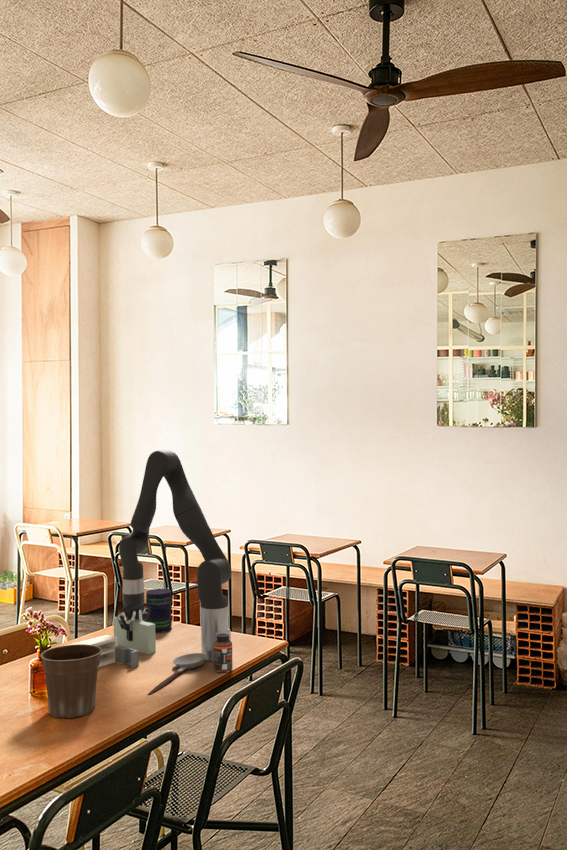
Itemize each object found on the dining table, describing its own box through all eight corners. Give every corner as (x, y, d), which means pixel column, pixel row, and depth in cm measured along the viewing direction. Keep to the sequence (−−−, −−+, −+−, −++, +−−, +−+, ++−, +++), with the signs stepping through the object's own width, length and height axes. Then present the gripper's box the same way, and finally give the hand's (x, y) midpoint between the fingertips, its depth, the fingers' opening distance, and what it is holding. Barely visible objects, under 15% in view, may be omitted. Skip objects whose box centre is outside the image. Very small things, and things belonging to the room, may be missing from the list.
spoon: (213, 661, 241) (211, 652, 241) (165, 700, 210) (164, 690, 210) (183, 662, 245) (182, 653, 245) (132, 700, 213) (131, 690, 213)
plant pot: (80, 696, 212) (79, 640, 212) (114, 708, 202) (114, 649, 202) (29, 713, 199) (28, 653, 200) (63, 727, 189) (62, 664, 189)
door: (123, 642, 268) (123, 615, 268) (158, 652, 255) (157, 623, 255) (114, 645, 265) (113, 617, 265) (148, 654, 252) (148, 625, 252)
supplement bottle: (229, 673, 230) (229, 637, 230) (211, 672, 231) (210, 636, 231) (234, 667, 235) (234, 632, 236) (217, 667, 237) (216, 631, 237)
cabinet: (138, 665, 239) (138, 641, 240) (79, 684, 222) (78, 657, 222) (110, 657, 250) (110, 633, 250) (51, 674, 232) (50, 649, 233)
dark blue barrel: (170, 632, 280) (169, 593, 280) (144, 633, 280) (143, 594, 280) (173, 626, 290) (173, 588, 290) (148, 626, 290) (148, 589, 290)
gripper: (123, 595, 252) (124, 646, 252) (155, 589, 263) (156, 637, 263) (110, 593, 257) (111, 642, 257) (142, 586, 268) (143, 633, 268)
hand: (134, 639), depth 260 cm, fingers closed on door, 3 cm apart
